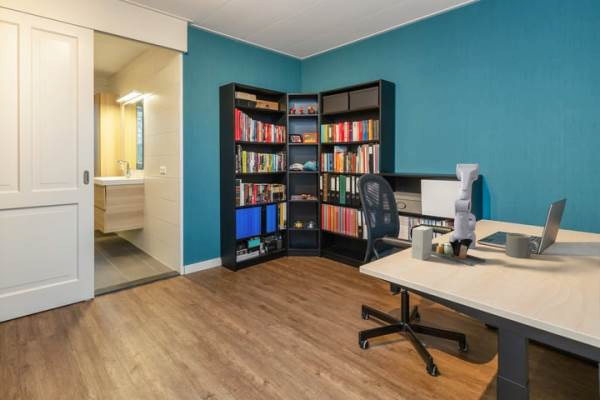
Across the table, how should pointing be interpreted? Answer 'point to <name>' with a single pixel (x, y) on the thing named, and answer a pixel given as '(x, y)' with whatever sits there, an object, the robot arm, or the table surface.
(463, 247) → the jar
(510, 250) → the coffee mug
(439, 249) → the pusher
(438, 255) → the grey rectangular tray
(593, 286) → the table surface
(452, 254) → the jar
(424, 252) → the skincare box
